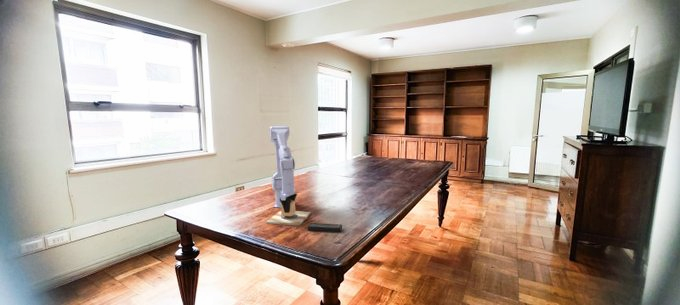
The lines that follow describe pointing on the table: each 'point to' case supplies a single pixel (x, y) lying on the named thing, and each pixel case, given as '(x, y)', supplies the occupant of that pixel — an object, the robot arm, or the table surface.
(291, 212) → the collar
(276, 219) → the post board
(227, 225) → the table surface
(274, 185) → the robot arm
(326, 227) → the multiport hub
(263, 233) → the table surface
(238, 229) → the table surface
